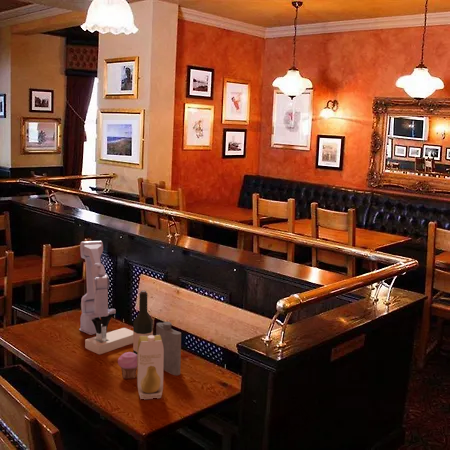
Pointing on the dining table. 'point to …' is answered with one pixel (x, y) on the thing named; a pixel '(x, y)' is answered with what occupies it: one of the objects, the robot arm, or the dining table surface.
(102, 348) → the pale beige flat-sided block
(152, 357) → the juice carton
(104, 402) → the dining table surface
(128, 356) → the cupcake
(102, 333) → the pinkish white rectangular block
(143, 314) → the wine bottle
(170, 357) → the hip flask
